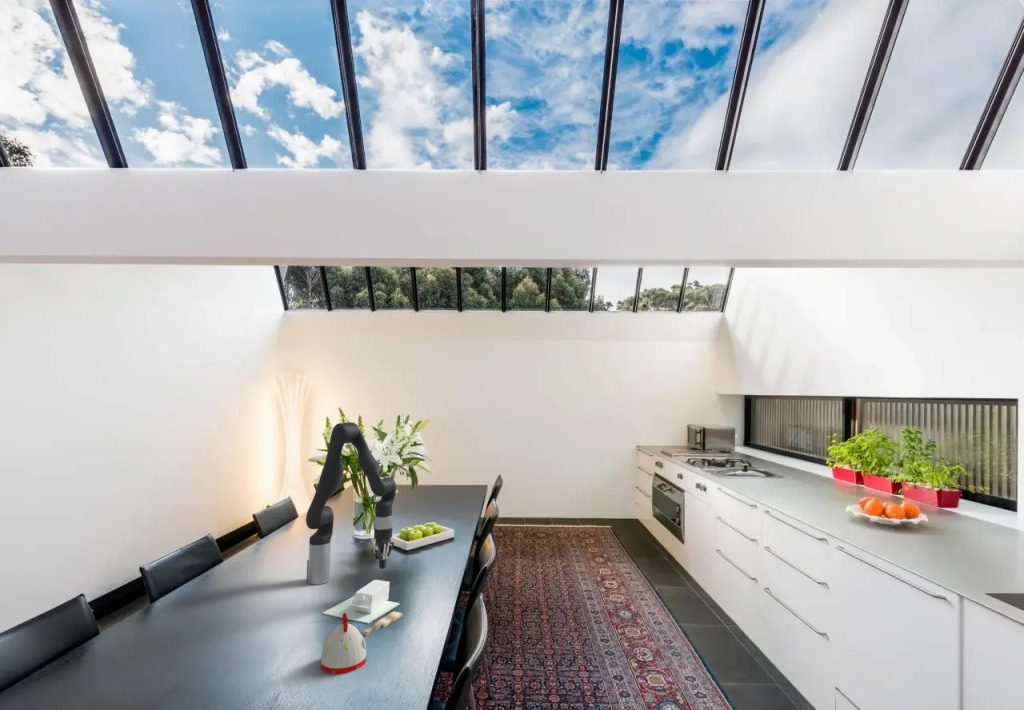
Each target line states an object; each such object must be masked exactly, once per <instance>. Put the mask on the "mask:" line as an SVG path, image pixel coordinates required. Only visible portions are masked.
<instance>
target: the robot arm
mask: <svg viewBox="0 0 1024 710" xmlns="http://www.w3.org/2000/svg"><path fill="white" fill-rule="evenodd" d="M329 439H330V440H329V444H328V449H327V454H326V458H325V461H324V464H323V467H322V470H321V473H320V477H319V481H318V484H317V487H316V489H315V490H316V491H315V493H314V495H313V498H312V500H311V503H310V505H309V507H308V509H307V513H306V515H305V516H306V517H305V525H306V526H307V528H308V529H310V530H316V531H315V532H314V533H313V534H312V535H311V536H309V540H308V541H309V543H308V544H309V545H308V559H307V561H306V579H305V580H306V583H308V584H309V585H315V586H316V585H317V586H318V585H323V584H327V583H329V582H330V578H331V573H330V572H331V548H332V547H331V544H332V543H331V542H332V536H333V533H334V529H333V528H334V521H335V520H334V518H335V517H334V516H335V515H334V511H333V509H332V508H331V507H332V506H329V505H326V504H327V502H328V500H329V499H330V498H331V497H332V496H333V495H334V493H335V492H336V491H337V489H338V488H339V487H340V484H341V482H342V479H343V476H344V472H345V471H344V463H343V460H342V452H343V449H344V446H345V444H351V445H353V447H354V448H355V449H356V453H357V458H358V459H357V460H358V464H359V467H360V469H361V471H362V472H363V474H364V475H365V476H366V478H367V482H368V484H369V487H370V490H371V492H372V493H373V495H375V496H376V497H381V498H380V500H378V501H377V502H376V503H375V507H374V508H375V509H374V510H375V511H374V513H375V514H374V522H373V524H374V526H373V538H374V539H375V545H374V546H375V547H374V548H371V549H370V550H371V552H372V554H373V556H374V558H375V559H376V560H379V562H378V563H379V564H378V566H379V569H380V570H384V569H385V568H386V567H387V559H388V557H389V556H390V555H391V552H392V550H393V547H394V545H395V543H394V542H392V541H391V540H392V539H391V538H392V537H393V524H394V523H393V504H394V501H395V497H396V493H397V483H396V481H395V479H394V478H393V477H385V478H381V477H380V476H381V475H382V473H383V468H382V467H381V465H380V464H379V462H378V461H377V460H376V458H375V456H374V455H373V453H372V452H371V450H370V448H369V446H368V443H367V441H366V439H365V437H364V435H363V433H362V430H361V429H360V427H359V426H358V424H356V423H355V422H340V423H336V424H335V425H334V426H333V428H332V430H331V435H330V438H329Z"/></svg>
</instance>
